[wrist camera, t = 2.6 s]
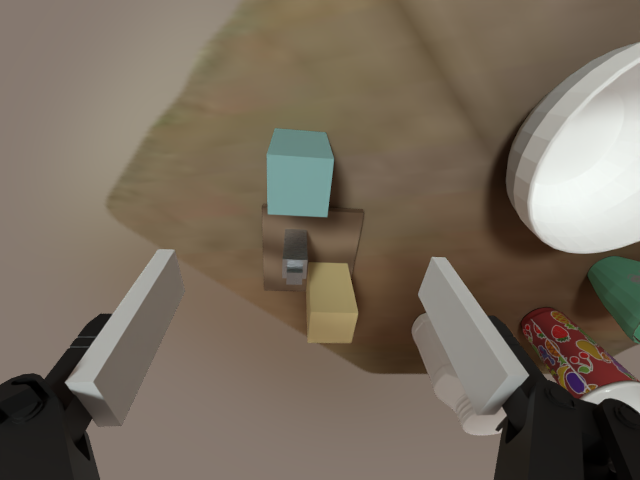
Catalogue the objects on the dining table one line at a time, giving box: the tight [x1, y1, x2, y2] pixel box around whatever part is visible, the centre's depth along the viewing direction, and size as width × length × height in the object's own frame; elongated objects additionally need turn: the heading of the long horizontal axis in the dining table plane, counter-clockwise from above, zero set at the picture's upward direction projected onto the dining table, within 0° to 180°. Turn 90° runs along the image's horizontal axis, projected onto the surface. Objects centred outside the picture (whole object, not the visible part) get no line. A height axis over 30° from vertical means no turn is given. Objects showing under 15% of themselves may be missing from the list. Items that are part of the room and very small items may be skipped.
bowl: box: [506, 42, 640, 254], centre depth 28 cm, size 19×19×9 cm
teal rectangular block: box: [267, 128, 334, 217], centre depth 27 cm, size 5×5×9 cm
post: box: [282, 229, 308, 285], centre depth 32 cm, size 3×3×8 cm
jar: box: [412, 313, 507, 435], centre depth 42 cm, size 12×10×15 cm
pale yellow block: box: [306, 262, 358, 343], centre depth 35 cm, size 5×5×9 cm
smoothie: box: [521, 307, 640, 413], centre depth 40 cm, size 8×8×20 cm
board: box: [262, 204, 364, 291], centre depth 37 cm, size 13×12×1 cm
